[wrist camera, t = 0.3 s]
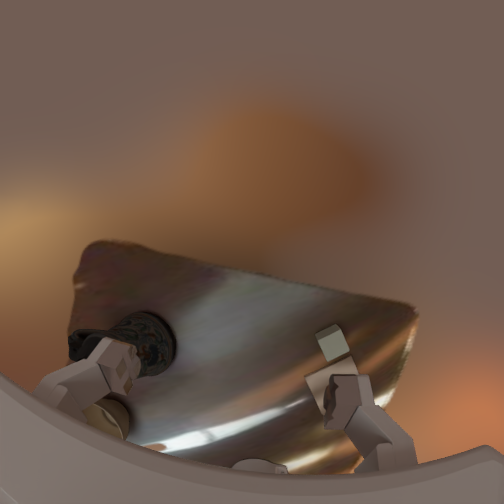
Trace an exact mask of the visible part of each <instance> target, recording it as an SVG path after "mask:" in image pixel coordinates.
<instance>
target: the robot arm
mask: <svg viewBox="0 0 504 504" xmlns="http://www.w3.org/2000/svg"><path fill="white" fill-rule="evenodd" d="M136 353H137V349H136V346H134V345H131V344H128V343H125V342H121V341H118V340H115V339H111V338H108V337H105V338H103V339H102V340H101V341H100V343H99V344H98V345H97V346H96V348H95V349H94V350H93V352H92V353H91V354H90V356H89V357H88V358H87V360H86V359H82V360H80V361H78V362H76V363H73V364H71V365H69V366H67V367H64V368H62V369H60V370H58V371H55V372H53V373H51V374H48V375H46V376H45V377H44V378H43V380H42V381H41V382H40V383H39V384H38V386H37V387H36V388H35V390H34V391H33V392H32V393H30V392H28V391H27V390H25V389H24V388H22V387H21V386H19V385H18V384H17V383H15V382H14V381H12V380H11V379H9V378H8V377H7V376H5V375H4V374H3V373H1V372H0V504H504V455H502V454H501V453H500V452H498V451H497V450H495V449H494V448H492V447H490V446H488V445H482V446H479V447H476V448H473V449H470V450H468V451H465V452H461V453H458V454H455V455H452V456H448V457H445V458H441V459H437V460H434V461H429V462H426V463H421V464H418V462H417V457H416V452H415V447H414V443H413V439H412V438H411V437H410V436H409V435H408V434H407V433H406V432H405V431H404V430H403V429H402V428H401V427H400V426H399V425H398V424H397V423H396V422H395V421H394V420H393V419H392V418H391V417H390V416H389V415H388V414H387V413H386V412H385V411H384V410H383V409H382V408H381V407H380V406H379V405H375V403H374V398H373V393H372V388H371V384H370V379H369V376H368V375H367V374H356V375H355V374H332V375H331V376H330V378H329V385H328V386H326V389H325V392H324V397H323V408H324V409H325V410H326V412H325V414H324V429H339V430H344V431H345V433H346V434H347V435H348V437H349V438H350V440H351V441H352V442H353V444H354V445H355V447H356V448H357V449H358V451H359V452H360V453H361V455H362V456H363V458H364V460H363V462H362V463H361V464H360V465H359V466H358V467H357V468H356V469H355V470H354V472H355V473H353V474H336V475H292V474H288V471H287V468H286V466H284V465H278V464H273V463H271V462H268V461H265V460H261V459H246V460H242V461H239V462H237V463H236V464H235V465H234V466H233V467H232V468H226V467H220V466H214V465H209V464H204V463H200V462H195V461H191V460H187V459H183V458H179V457H175V456H171V455H168V454H164V453H161V452H158V451H154V450H151V449H148V448H145V447H142V446H139V445H136V444H134V443H131V442H128V441H125V440H123V439H120V438H118V437H115V436H113V435H110V434H108V433H106V432H103V431H101V430H99V429H96V428H94V427H92V426H90V425H88V424H86V423H87V418H86V416H85V415H84V413H83V412H82V410H84V409H86V408H87V407H89V406H90V405H92V404H93V403H95V402H96V401H98V400H99V399H101V398H102V397H104V396H105V395H107V394H108V393H110V392H111V391H113V392H116V393H119V394H122V395H126V396H127V395H128V393H129V391H130V390H131V388H132V386H133V384H132V380H134V379H136V378H137V377H138V375H139V373H140V369H141V362H140V359H139V357H138V356H137V355H136ZM282 471H283V472H282Z"/></svg>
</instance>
